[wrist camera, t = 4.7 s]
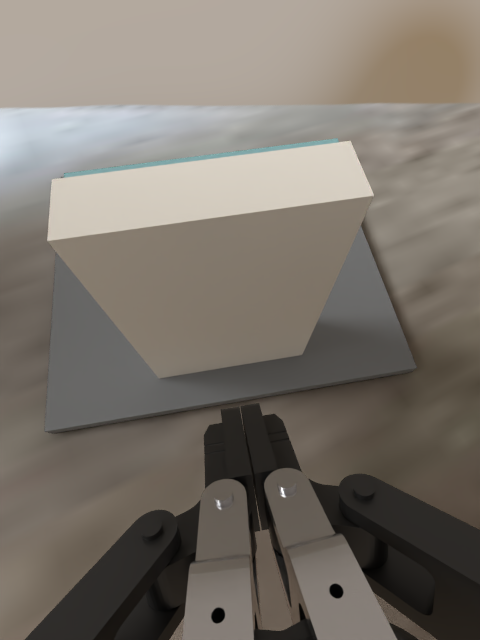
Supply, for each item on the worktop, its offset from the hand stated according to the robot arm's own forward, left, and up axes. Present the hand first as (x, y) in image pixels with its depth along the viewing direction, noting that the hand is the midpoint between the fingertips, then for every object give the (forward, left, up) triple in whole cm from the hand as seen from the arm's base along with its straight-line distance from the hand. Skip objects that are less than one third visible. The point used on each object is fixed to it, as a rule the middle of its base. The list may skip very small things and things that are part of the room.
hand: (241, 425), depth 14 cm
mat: (0, +11, -5) cm, 12 cm away
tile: (0, +5, -5) cm, 7 cm away
